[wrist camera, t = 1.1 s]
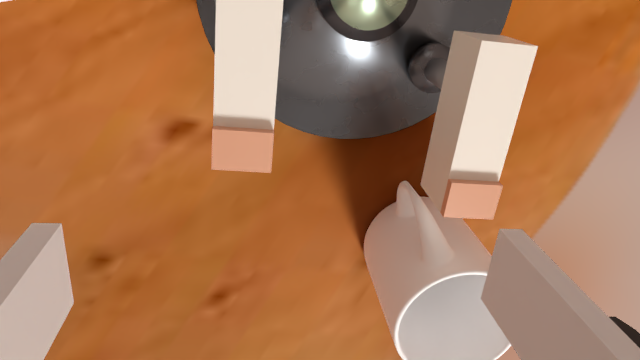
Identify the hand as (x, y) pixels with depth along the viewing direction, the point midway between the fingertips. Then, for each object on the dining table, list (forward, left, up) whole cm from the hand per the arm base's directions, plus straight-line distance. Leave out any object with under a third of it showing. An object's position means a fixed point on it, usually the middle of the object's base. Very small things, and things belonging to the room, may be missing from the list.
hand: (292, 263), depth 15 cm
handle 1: (-2, +4, -18) cm, 18 cm away
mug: (+12, -10, -21) cm, 26 cm away
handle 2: (+10, +2, -18) cm, 21 cm away
